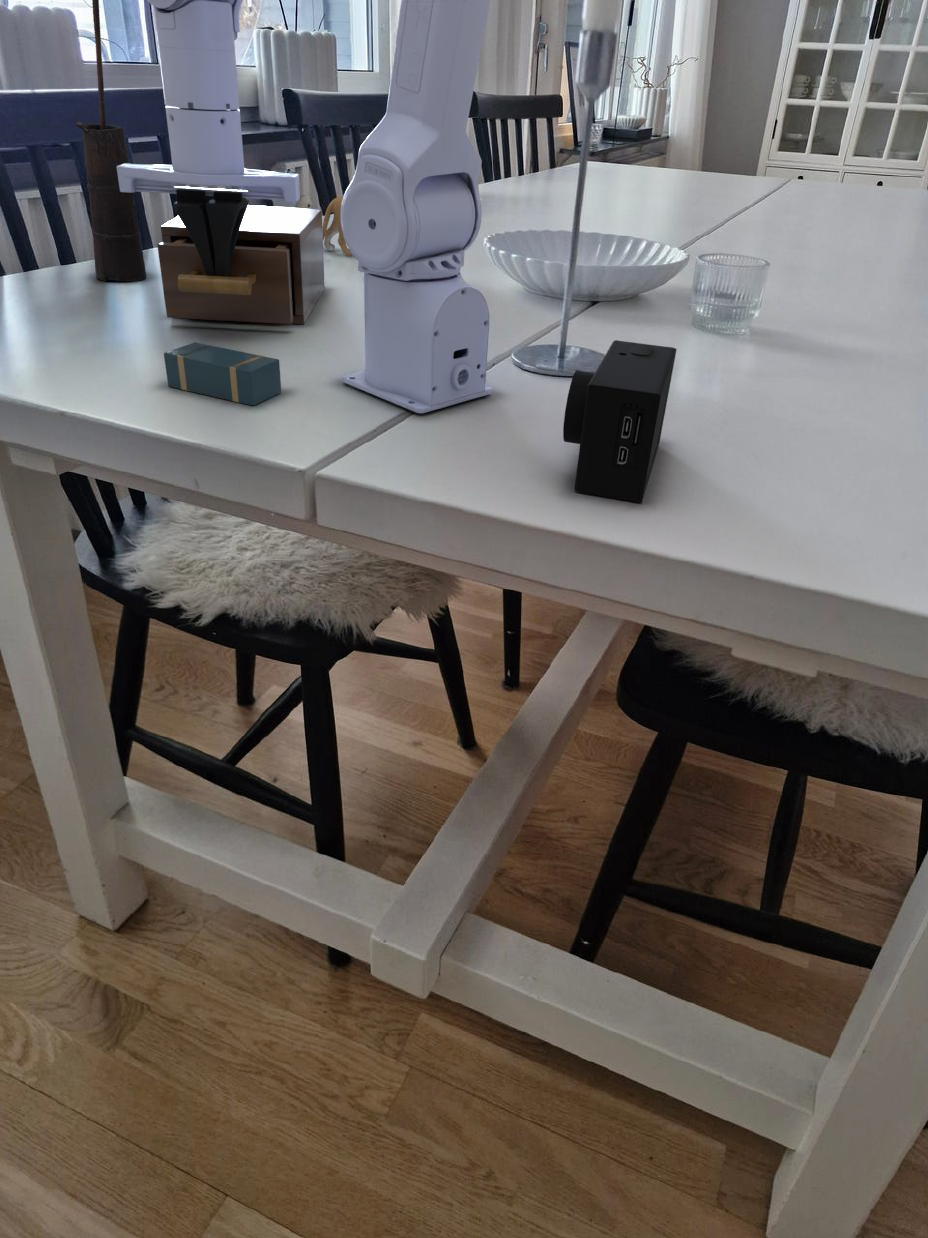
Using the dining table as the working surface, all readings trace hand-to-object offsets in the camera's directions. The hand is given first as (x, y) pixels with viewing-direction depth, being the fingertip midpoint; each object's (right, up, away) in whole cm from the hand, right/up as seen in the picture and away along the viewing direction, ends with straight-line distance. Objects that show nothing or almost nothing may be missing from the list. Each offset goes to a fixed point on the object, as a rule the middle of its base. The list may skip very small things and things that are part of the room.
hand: (220, 286), depth 76 cm
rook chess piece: (0, +15, +31) cm, 35 cm away
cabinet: (0, +3, +13) cm, 13 cm away
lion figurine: (+9, +19, +37) cm, 43 cm away
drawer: (0, +1, +7) cm, 7 cm away
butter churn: (-17, +8, +18) cm, 26 cm away
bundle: (+3, -12, -10) cm, 15 cm away
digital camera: (+31, -19, -18) cm, 41 cm away
